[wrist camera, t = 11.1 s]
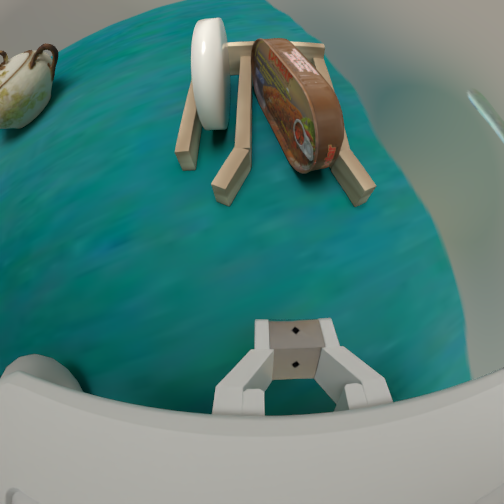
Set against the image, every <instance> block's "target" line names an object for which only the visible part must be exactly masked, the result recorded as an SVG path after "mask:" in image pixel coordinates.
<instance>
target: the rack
mask: <svg viewBox="0 0 504 504" xmlns="http://www.w3.org/2000/svg"><path fill="white" fill-rule="evenodd" d="M254 42H255V41H251V42H231V43H227V44H228V53H229V65H230V75H239V87H238V102H237V118H236V135H235V147H234V149H233V150H232V152H231V153H230V155H229V156H228V158H227V160H226V161H225V163H224V164H223V166H222V167H221V169H220V171H219V172H218V174H217V175H216V177H215V178H214V180H213V182H212V183H211V185H212V188H213V191H214V194H215V197H216V200H217V202H220V203H222V204H225V205H227V206H230V205H231V203H232V201H233V199H234V198H235V196H236V194H237V192H238V191H239V189H240V187H241V185H242V184H243V182H244V180H245V178H246V177H247V175H248V173H249V172H250V170H251V168H250V167H251V156H252V72H251V50H252V46H253V43H254ZM291 43H292V44H293V45H294V46H295V47H296V48H297V49H298V50H299V51H300V52H301V53H302V54H303V55H304V56H305V57H306V58H307V59H308V60H309V61H310V62H311V64H312V65H313V66H314V67H315V68H316V69H317V70H318V72H319V73H320V74H321V75H322V76H323V77H324V79H325V80H326V81H327V82H328V83H329V85H330V86H331V87H332V89H333V86H332V83H331V80H330V77H329V74H328V71H327V68H326V65H325V62H324V59H323V58H324V51H325V47H324V44H318V43H305V42H291ZM333 90H334V89H333ZM201 129H202V124H201V121H200V119H199V116H198V112H197V108H196V104H195V99H194V92H193V84H192V81H191V84H190V88H189V92H188V96H187V100H186V104H185V108H184V112H183V116H182V121H181V125H180V129H179V134H178V139H177V144H176V148H175V154H176V156H177V158H178V161H179V163H180V165H181V167H182V169H183V170H196V163H197V156H198V149H199V142H200V136H201ZM330 168H332V169H331V172H332V173H333V175H334V176H335V177H336V179H337V180H338V182H339V183H340V185H341V186H342V188H343V189H344V191H345V193H346V194H347V196H348V197H349V199H350V200H351V202H352V203H353V205H354V207H356V206H358V205H361V204H363V203H365V202H366V201H367V199H368V198H369V196H370V195H371V193H372V192H373V190H374V189H375V187H376V185H375V183H374V182H373V180H372V179H371V178H370V176H369V175H368V173H367V172H366V170H365V169H364V168H363V166H362V165H361V164H360V162H359V161H358V159H357V158H356V157H355V155H354V154H353V153H352V151H351V150H350V148H349V144H348V140H347V136H346V132H345V128H344V139H343V143H342V146H341V150H340V153H339V156H338V158H337V160H336V161H335V163H334V164H333V165H332V166H330Z"/></svg>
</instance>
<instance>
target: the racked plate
mask: <svg viewBox="0 0 504 504" xmlns="http://www.w3.org/2000/svg"><path fill="white" fill-rule="evenodd" d="M191 73H192V84H193V92H194V99H195V104H196V108H197V112H198V116H199V119H200V121H201V124H202V126H203V127H204V129H205V130H220V129H226V128H227V126H228V122H229V114H230V65H229V53H228V44H227V37H226V32H225V27H224V24H223V21H222V19H221V18H211V19H203V20H199V21H198V22H197V24H196V26H195V28H194V32H193V38H192V47H191Z"/></svg>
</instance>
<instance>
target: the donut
mask: <svg viewBox="0 0 504 504" xmlns="http://www.w3.org/2000/svg"><path fill="white" fill-rule="evenodd" d="M15 371H23V372H26V373H28V374H31V375H33V376H36V377H38V378H41V379H44V380H46V381H49V382H52V383H55V384H58V385H61V386H64V387H67V388H71V389H74V390H77V391H81V392H83V391H82V389H81V387H80V385H79V383H78V381H77V380H76V379H75V377H74V376H73V375H72V374H71V373H70V371H69V370H68V369H67V368H66V367H64V366H63V365H61V364H60V363H59V362H57V361H56V360H54V359H53V358H50V357H46V356H42V355H38V354H32V355H27V356H22V357H19V358H17V359H16V360H15V361H14V362H12V363H11V364H10V365H9V366H7V367H6V369H5V371H4V373H3V375H2V377H1V378H3V377H4V376H6V375H8V374H10V373H12V372H15ZM1 378H0V379H1Z"/></svg>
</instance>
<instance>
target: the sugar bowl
mask: <svg viewBox="0 0 504 504" xmlns="http://www.w3.org/2000/svg"><path fill="white" fill-rule="evenodd" d="M43 50H50V51H51V52H52V54H53V61H52V59H51V57H50V56H49V55H48V54H47V53H45V52H43ZM0 55H2V56H3V59H4V62H3V63H1V64H0V129H1V128H18V129H19V128H22V127H24V126H26V125H27V124H29V123H30V122H31V121H32V120H34V119H35V118H36V117H37V116H38V115H39V114H40V113H41V112H42V110H43V109H44V108H45V106H46V105H47V103H48V102H49V100H50V97H51V87H52V82H53V79H54V75H55V67H56V64H57V60H58V50H57V49H56V48H55V46H53V45H51V44H43V45H41V46H40V47H39V48H38V49H37V51H32V50H29V51H26V52H24V53H22V54H18V55H16V56H15V57H13V58H11V59H10V60H8V56H7V54H6V52H4V51H0Z"/></svg>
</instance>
